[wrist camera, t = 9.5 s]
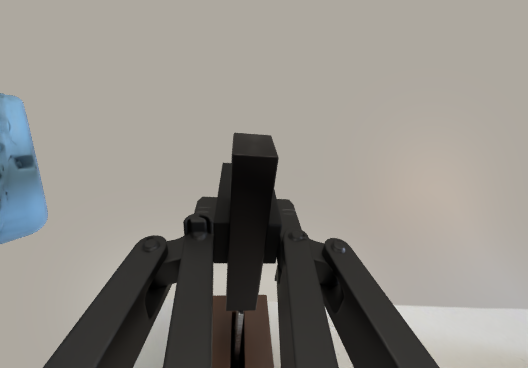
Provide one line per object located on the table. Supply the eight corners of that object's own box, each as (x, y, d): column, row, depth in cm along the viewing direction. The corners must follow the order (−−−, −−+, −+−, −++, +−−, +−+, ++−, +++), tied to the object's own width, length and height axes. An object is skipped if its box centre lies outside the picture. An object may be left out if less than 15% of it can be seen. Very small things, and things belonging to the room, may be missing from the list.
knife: (221, 403, 20) (231, 155, 9) (224, 362, 23) (233, 130, 11) (242, 402, 20) (279, 159, 9) (242, 361, 23) (270, 133, 11)
